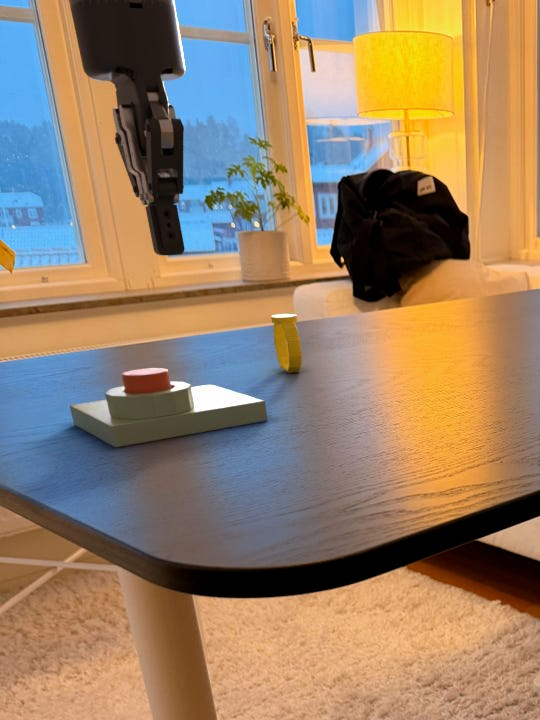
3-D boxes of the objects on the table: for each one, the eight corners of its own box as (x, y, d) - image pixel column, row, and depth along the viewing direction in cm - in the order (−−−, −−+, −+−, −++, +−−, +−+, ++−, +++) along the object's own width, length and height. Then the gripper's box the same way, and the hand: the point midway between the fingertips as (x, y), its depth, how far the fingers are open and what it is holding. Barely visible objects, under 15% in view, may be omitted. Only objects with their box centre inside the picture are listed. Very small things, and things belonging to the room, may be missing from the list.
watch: (271, 368, 102) (264, 314, 99) (295, 366, 103) (288, 312, 100) (286, 375, 97) (278, 318, 94) (310, 373, 98) (303, 316, 95)
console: (115, 447, 69) (105, 402, 68) (73, 424, 78) (64, 384, 76) (268, 420, 76) (262, 379, 74) (214, 402, 85) (207, 364, 83)
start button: (134, 399, 70) (129, 377, 70) (120, 393, 73) (115, 372, 72) (178, 393, 72) (174, 371, 72) (163, 387, 75) (159, 366, 74)
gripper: (56, 18, 70) (108, 256, 77) (85, -20, 59) (142, 259, 67) (153, 22, 73) (193, 250, 81) (196, -13, 63) (238, 252, 70)
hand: (170, 254), depth 74 cm, fingers closed
